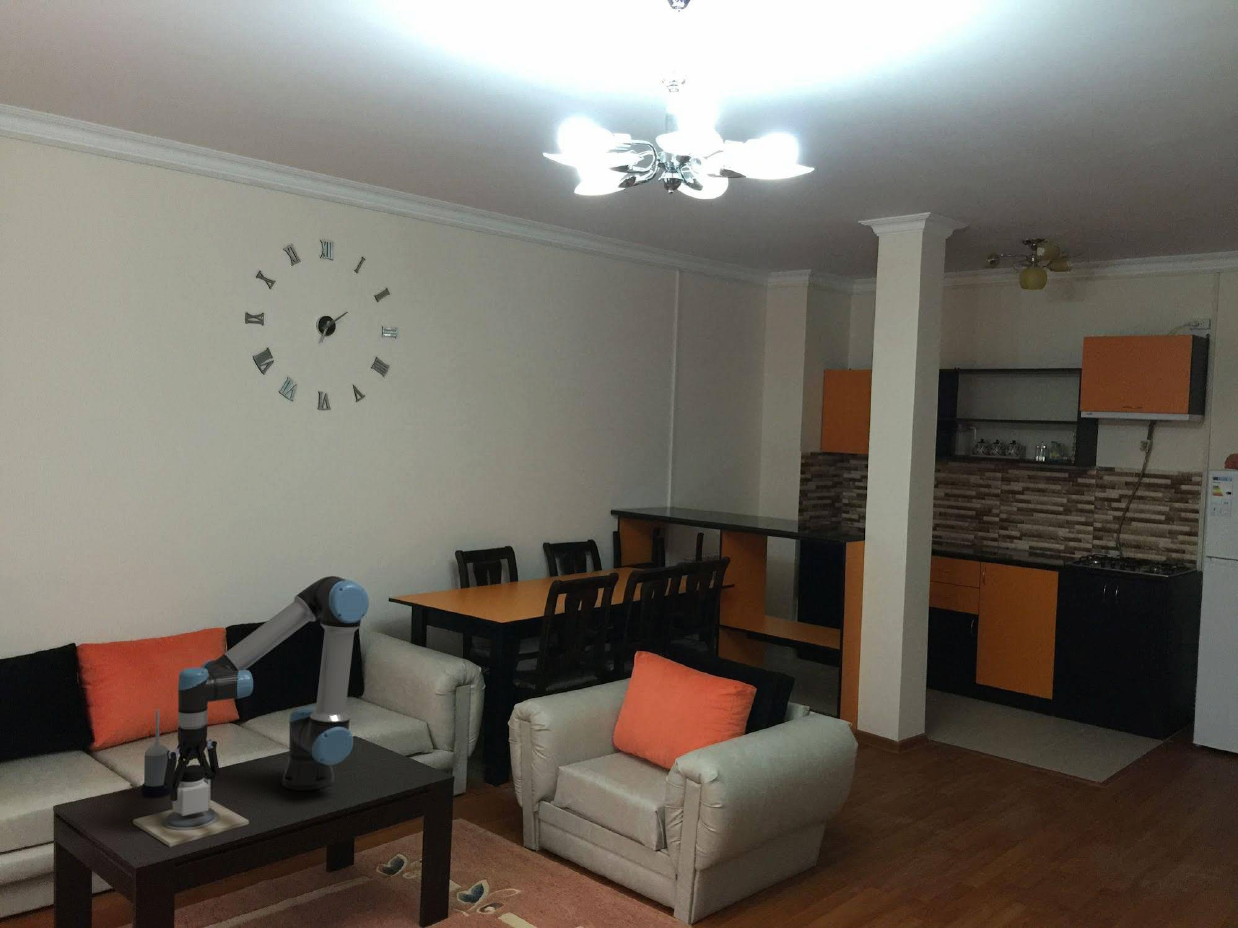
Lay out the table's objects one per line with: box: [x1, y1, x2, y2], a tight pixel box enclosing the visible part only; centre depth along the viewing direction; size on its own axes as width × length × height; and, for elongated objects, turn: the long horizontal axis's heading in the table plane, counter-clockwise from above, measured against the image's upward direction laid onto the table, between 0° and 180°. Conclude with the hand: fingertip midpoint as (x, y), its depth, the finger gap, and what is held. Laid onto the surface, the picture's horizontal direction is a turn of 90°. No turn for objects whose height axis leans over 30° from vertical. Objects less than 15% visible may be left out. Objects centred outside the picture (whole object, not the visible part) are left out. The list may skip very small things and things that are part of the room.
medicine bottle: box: [178, 764, 209, 816], centre depth 283 cm, size 7×7×12 cm
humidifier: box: [141, 709, 170, 799], centre depth 305 cm, size 8×8×25 cm
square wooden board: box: [132, 799, 250, 848], centre depth 283 cm, size 22×22×2 cm
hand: (191, 806), depth 283 cm, fingers closed on medicine bottle, 8 cm apart
